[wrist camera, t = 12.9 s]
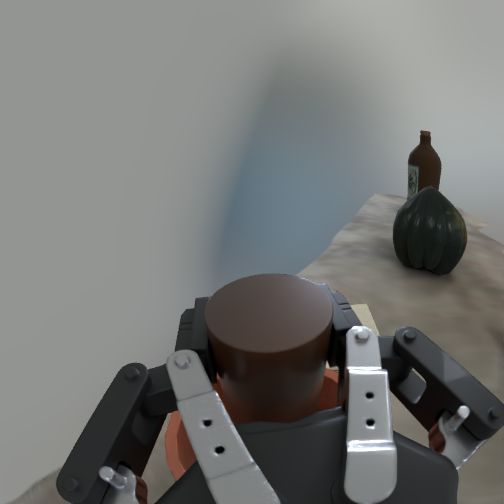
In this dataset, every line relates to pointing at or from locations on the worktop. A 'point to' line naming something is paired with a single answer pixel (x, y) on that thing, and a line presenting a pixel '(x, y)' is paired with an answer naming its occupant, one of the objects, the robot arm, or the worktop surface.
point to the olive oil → (423, 166)
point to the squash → (429, 232)
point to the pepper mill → (270, 346)
